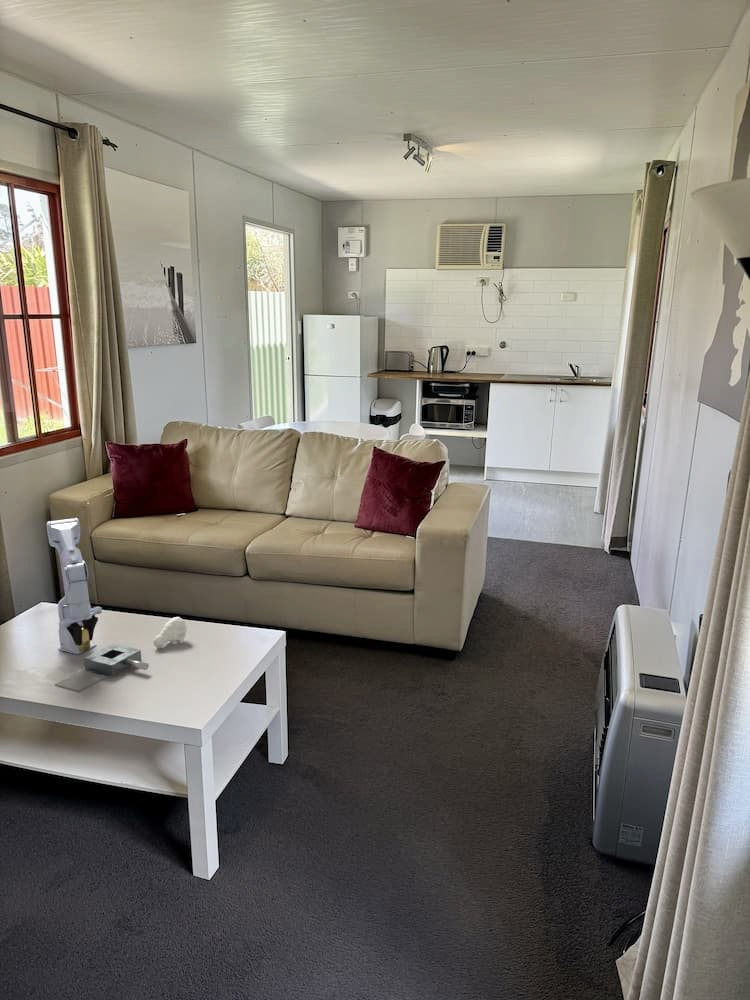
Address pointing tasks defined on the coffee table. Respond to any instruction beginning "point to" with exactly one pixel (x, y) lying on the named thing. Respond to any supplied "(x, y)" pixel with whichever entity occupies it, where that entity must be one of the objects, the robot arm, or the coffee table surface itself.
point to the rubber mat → (80, 681)
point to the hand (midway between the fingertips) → (83, 642)
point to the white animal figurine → (171, 632)
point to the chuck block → (114, 660)
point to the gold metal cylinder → (84, 640)
